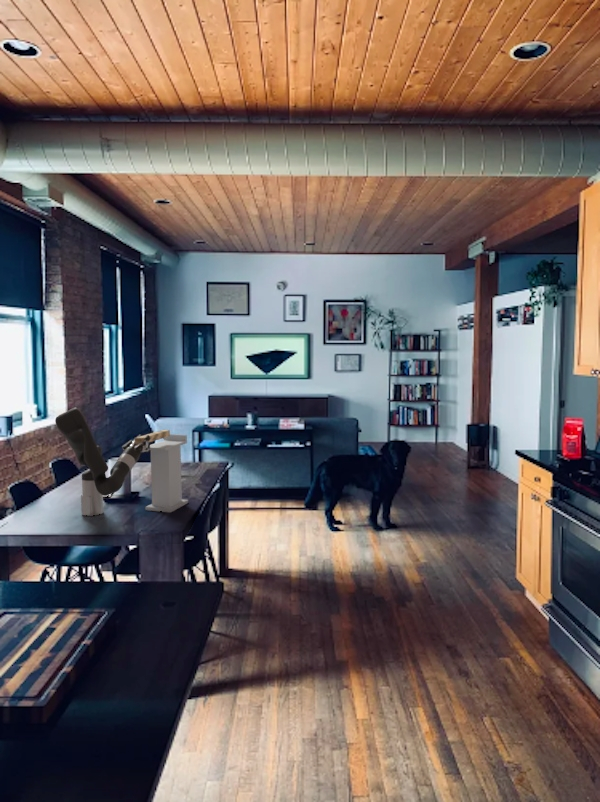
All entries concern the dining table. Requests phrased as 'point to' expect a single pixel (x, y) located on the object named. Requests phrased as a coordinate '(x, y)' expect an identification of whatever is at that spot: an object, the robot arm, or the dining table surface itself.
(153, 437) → the brown wooden block
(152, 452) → the white plinth column
